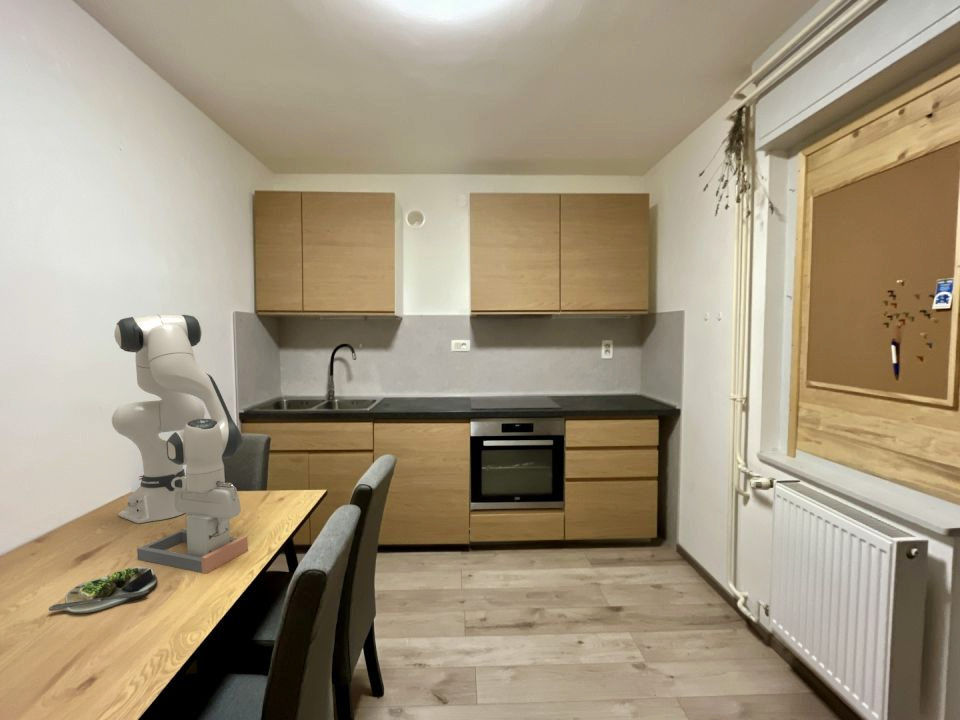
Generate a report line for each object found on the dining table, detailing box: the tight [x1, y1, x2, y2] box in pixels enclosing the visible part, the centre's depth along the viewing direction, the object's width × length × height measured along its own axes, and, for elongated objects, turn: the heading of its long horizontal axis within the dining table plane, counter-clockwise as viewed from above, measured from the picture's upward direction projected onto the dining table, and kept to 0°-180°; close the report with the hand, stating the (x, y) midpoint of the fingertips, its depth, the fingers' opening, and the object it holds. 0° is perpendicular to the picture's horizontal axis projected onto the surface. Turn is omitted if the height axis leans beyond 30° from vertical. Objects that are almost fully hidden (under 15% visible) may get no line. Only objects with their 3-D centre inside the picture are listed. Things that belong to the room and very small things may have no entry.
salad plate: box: [48, 566, 158, 614], centre depth 107 cm, size 19×18×5 cm
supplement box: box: [185, 514, 231, 557], centre depth 124 cm, size 7×7×13 cm
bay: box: [136, 528, 249, 575], centre depth 126 cm, size 25×13×4 cm, turn 71°
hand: (208, 530), depth 124 cm, fingers closed on supplement box, 7 cm apart
